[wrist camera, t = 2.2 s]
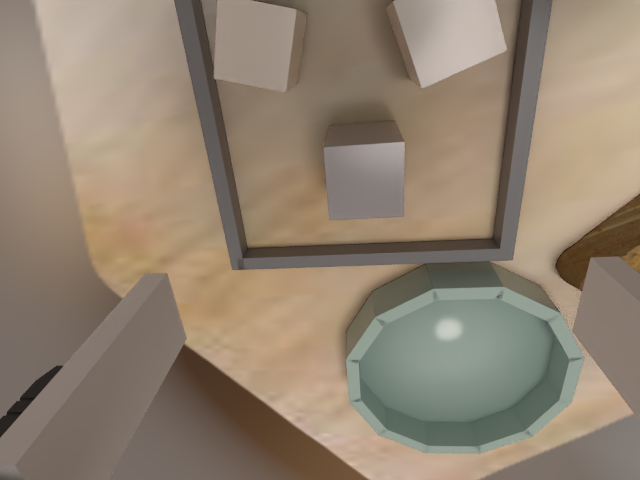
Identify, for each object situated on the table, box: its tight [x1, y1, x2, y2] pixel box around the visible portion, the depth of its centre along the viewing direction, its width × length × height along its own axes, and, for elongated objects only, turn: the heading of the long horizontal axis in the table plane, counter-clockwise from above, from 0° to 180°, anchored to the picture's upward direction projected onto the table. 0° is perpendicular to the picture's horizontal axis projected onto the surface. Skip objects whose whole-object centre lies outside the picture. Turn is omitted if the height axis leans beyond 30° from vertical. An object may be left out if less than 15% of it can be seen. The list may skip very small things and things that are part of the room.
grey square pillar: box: [323, 121, 405, 220], centre depth 25 cm, size 4×4×6 cm
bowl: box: [346, 262, 584, 454], centre depth 34 cm, size 18×18×4 cm
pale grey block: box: [386, 0, 507, 89], centre depth 22 cm, size 4×4×5 cm
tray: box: [174, 0, 552, 270], centre depth 26 cm, size 20×21×2 cm
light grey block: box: [214, 0, 307, 93], centre depth 23 cm, size 4×4×5 cm
